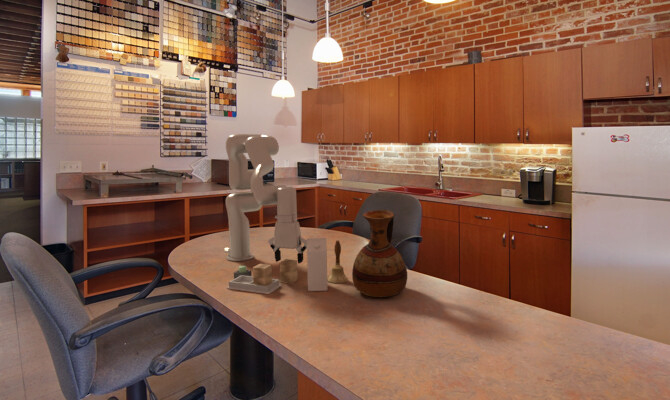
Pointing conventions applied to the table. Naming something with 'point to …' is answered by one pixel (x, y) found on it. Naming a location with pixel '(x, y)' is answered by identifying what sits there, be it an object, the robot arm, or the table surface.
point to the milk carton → (317, 264)
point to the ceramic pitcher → (379, 259)
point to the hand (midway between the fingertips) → (289, 261)
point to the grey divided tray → (252, 285)
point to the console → (247, 273)
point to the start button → (242, 269)
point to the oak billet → (288, 271)
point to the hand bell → (337, 268)
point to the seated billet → (262, 274)
